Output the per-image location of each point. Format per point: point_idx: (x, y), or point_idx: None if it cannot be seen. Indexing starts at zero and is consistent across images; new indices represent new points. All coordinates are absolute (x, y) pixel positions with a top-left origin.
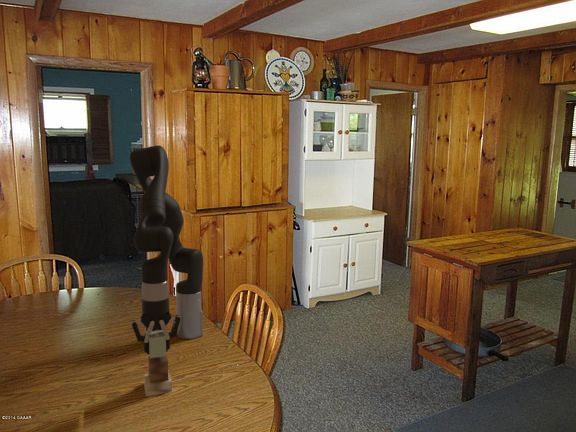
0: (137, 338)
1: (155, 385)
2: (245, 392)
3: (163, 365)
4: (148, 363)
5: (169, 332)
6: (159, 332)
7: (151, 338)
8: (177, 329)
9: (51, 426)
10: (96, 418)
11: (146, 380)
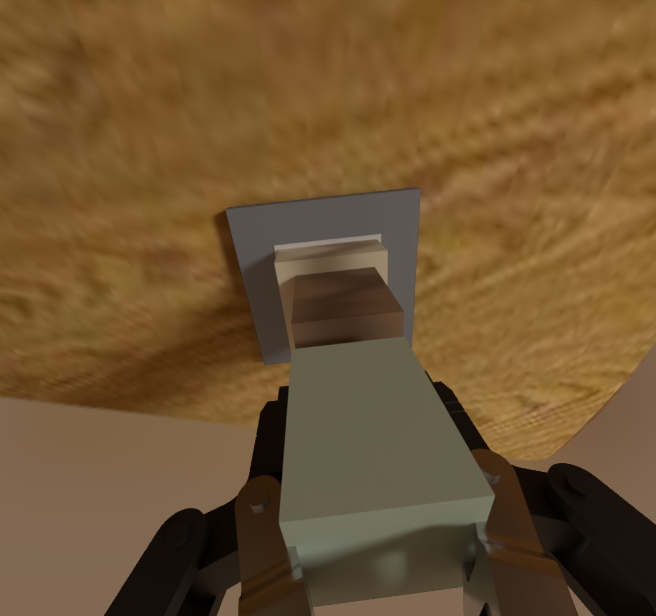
0: (180, 607)
1: None
2: (582, 342)
3: None
4: (293, 302)
5: (536, 521)
6: (427, 534)
7: (326, 599)
8: (647, 612)
9: (40, 398)
10: (158, 385)
11: (288, 318)
